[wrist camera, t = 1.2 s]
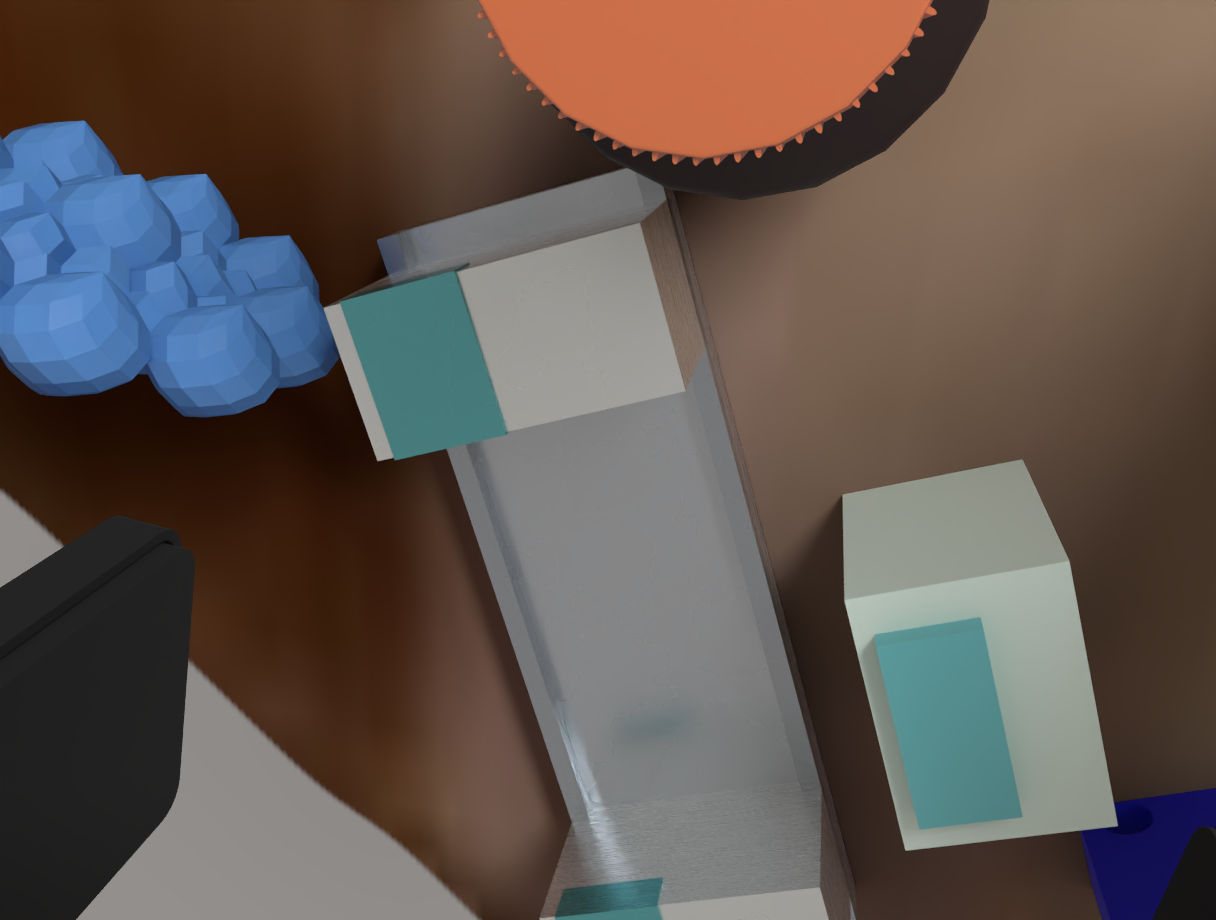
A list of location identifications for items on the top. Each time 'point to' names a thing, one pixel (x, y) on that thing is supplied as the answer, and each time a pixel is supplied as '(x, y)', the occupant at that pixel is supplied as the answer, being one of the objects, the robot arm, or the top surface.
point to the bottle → (737, 81)
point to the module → (974, 659)
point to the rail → (611, 543)
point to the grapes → (145, 283)
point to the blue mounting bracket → (1143, 850)
